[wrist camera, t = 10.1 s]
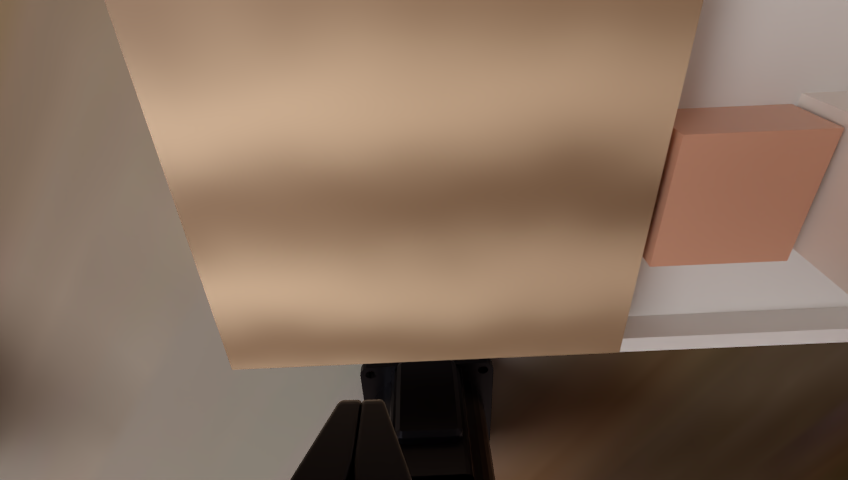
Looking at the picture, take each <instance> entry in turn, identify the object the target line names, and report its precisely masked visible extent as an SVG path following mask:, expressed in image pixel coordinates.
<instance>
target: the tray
mask: <svg viewBox="0 0 848 480" xmlns="http://www.w3.org/2000/svg"><path fill="white" fill-rule="evenodd" d="M837 91H848V0H703V5H702V9H701V13H700V17H699V21H698V26H697V30H696V34H695V38H694V42H693V46H692V51H691V55H690V59H689V63H688V67H687V72H686V76H685V80H684V84H683V88H682V93H681V97H680V101H679V105H678V109H686V108H709V107H732V106H755V105H778V104H793V105H795V106H797V105H798V102H799V99H800V96H801V94H802V93H814V92H837ZM836 342H848V294H847V293H846V292H844V291H843V290H842V289H841V288H840V287H838V286H837V285H836V284H835V283H834V282H832V281H831V280H830V279H829V278H828V277H826V276H825V275H824V274H823V273H822V272H820V271H819V270H818V269H817V268H816V267H814V266H813V265H812V264H811V263H810V262H808V261H807V260H806V259H805V258H804V257H802V256H801V255H800V254H799V253H798V252H796V251H795V250H794V249H792V251H791V253H790V256H789V258H788V260H787V261H772V262H749V263H726V264H703V265H680V266H657V267H650V266H649V265H648V263H647V262H646V261H645V259H644V258H643V256H642V260H641V264H640V269H639V273H638V277H637V281H636V285H635V290H634V294H633V298H632V302H631V306H630V310H629V315H628V319H627V323H626V327H625V331H624V336H623V340H622V344H621V348H620V352H632V351H654V350H677V349H700V348H723V347H745V346H768V345H791V344H813V343H836Z"/></svg>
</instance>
